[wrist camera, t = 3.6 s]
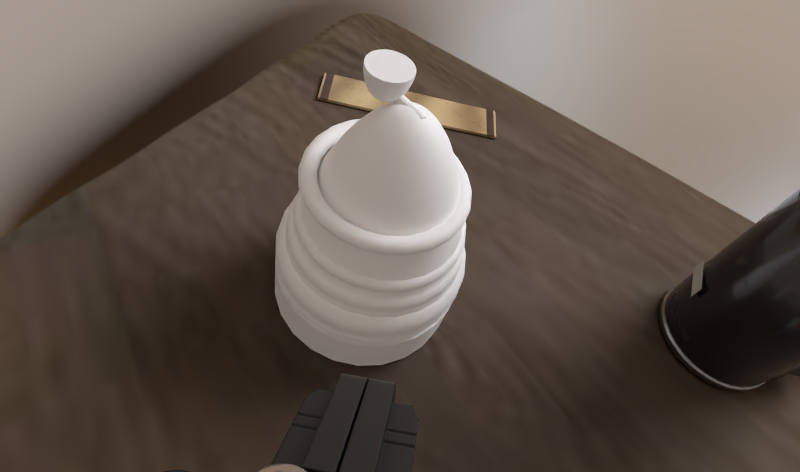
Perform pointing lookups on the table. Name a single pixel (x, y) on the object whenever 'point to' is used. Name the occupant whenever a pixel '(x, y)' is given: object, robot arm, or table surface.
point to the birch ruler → (443, 110)
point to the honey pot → (374, 228)
